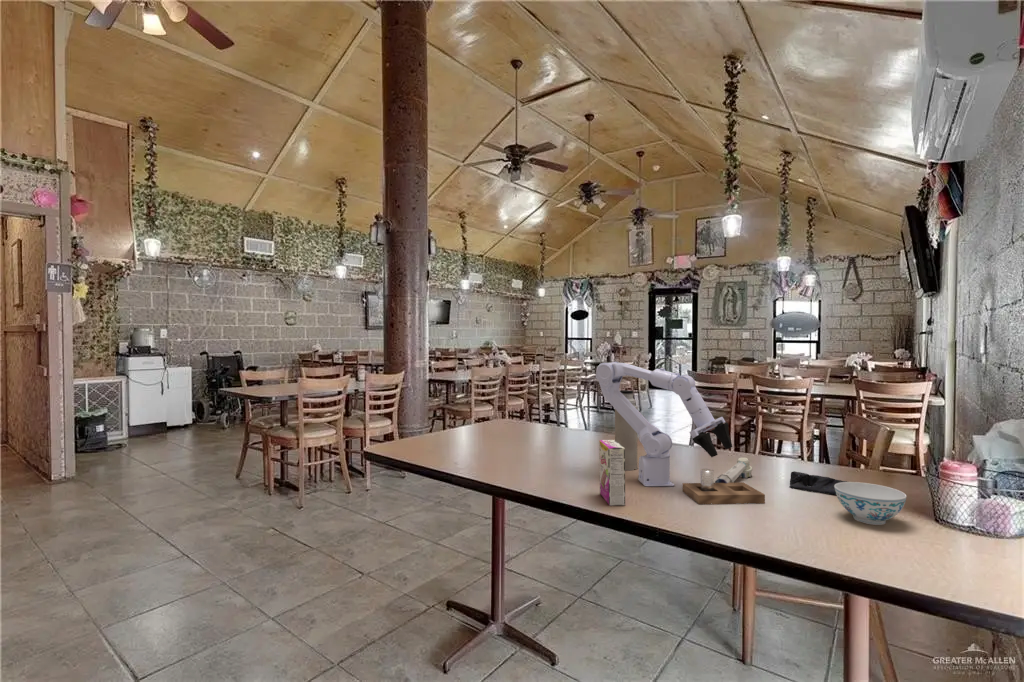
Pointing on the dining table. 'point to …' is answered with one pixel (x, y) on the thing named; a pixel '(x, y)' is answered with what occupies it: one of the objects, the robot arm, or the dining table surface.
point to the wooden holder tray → (724, 493)
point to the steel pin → (707, 479)
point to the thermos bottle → (627, 435)
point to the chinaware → (870, 501)
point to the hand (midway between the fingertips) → (722, 452)
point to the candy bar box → (612, 472)
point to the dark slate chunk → (813, 483)
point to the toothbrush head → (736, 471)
